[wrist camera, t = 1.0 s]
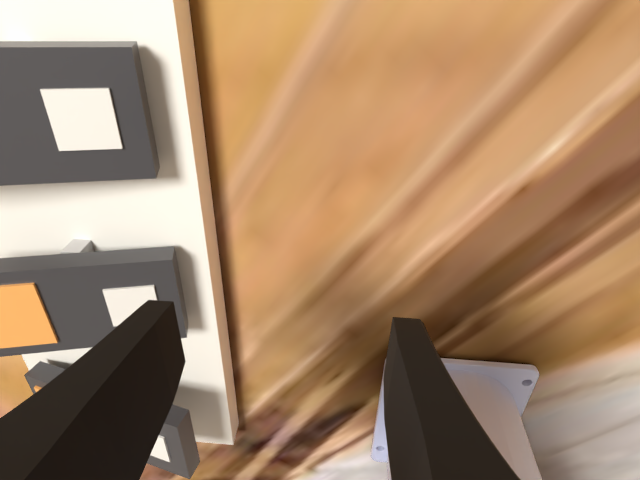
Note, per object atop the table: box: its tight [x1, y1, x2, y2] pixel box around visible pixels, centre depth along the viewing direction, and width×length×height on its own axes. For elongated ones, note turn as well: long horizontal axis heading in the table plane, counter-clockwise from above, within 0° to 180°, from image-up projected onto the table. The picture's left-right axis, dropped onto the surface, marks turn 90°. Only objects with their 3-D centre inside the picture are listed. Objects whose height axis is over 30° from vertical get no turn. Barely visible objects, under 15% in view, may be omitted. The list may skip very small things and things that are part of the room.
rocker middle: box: [0, 246, 189, 357], centre depth 19 cm, size 4×9×1 cm, turn 89°
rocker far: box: [24, 361, 200, 479], centre depth 23 cm, size 4×9×1 cm, turn 89°
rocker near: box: [0, 41, 160, 186], centre depth 14 cm, size 4×9×1 cm, turn 89°
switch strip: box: [0, 0, 239, 445], centre depth 21 cm, size 25×11×2 cm, turn 179°
